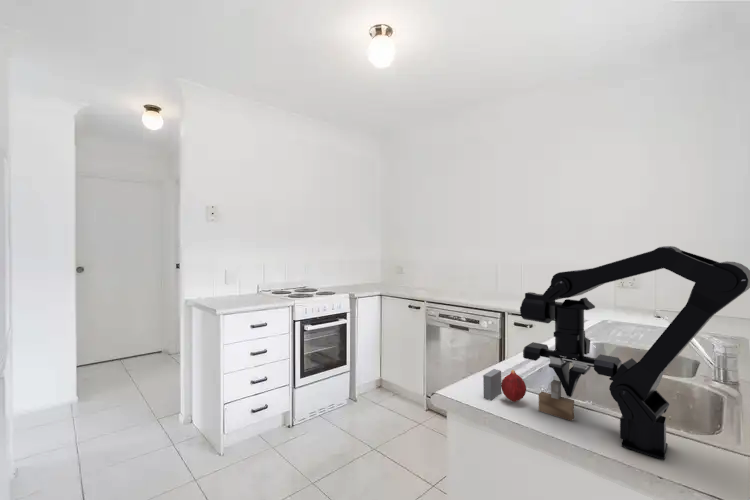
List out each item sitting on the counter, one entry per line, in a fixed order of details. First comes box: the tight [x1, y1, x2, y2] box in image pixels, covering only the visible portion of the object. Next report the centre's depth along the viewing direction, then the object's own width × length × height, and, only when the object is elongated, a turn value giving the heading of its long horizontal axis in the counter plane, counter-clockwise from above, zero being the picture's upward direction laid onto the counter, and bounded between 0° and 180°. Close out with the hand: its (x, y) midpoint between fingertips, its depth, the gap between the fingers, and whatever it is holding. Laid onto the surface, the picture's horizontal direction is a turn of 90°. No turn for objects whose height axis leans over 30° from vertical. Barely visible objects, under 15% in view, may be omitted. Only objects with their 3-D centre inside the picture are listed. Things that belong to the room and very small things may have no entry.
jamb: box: [482, 368, 502, 401], centre depth 92 cm, size 2×6×6 cm, turn 136°
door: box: [538, 379, 575, 422], centre depth 81 cm, size 7×2×8 cm, turn 46°
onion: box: [501, 369, 527, 403], centre depth 88 cm, size 6×6×8 cm
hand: (569, 395), depth 79 cm, fingers closed
